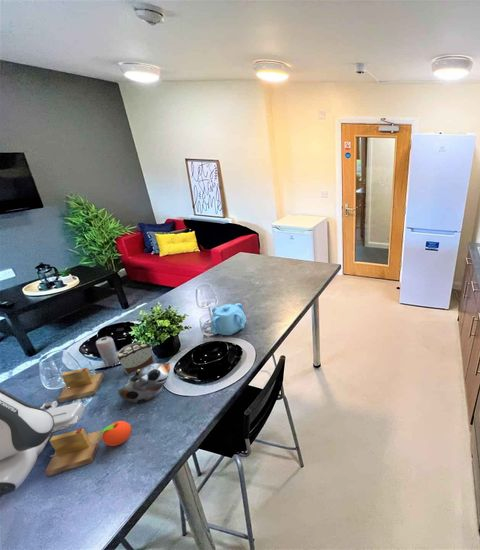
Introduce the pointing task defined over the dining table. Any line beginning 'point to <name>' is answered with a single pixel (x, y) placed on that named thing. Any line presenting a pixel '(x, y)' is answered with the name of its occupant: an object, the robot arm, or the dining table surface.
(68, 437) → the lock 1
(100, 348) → the pillar candle
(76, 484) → the dining table surface
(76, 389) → the plate
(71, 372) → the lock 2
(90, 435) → the wooden board
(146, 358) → the food container
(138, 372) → the lucky cat figurine
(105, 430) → the clementine
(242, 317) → the decorative pot
